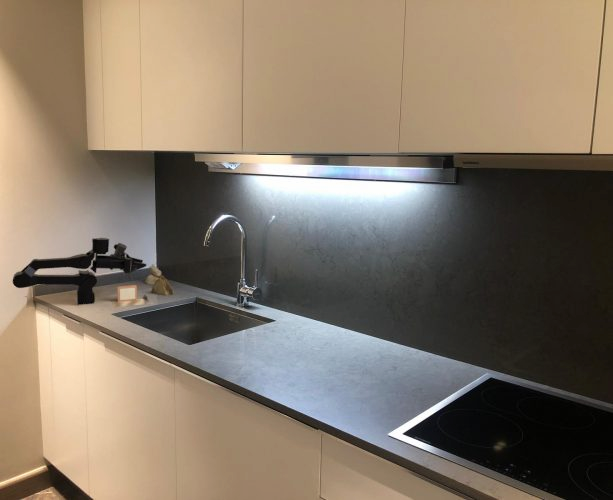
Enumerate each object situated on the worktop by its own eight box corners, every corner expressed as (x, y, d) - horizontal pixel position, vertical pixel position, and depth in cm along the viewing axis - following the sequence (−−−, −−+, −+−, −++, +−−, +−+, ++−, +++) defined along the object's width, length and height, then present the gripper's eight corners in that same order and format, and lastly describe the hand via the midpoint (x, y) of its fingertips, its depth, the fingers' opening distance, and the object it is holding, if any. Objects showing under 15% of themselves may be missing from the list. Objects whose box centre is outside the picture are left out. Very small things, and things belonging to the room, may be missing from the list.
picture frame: (118, 302, 241) (117, 287, 240) (117, 301, 242) (117, 286, 241) (137, 300, 244) (136, 285, 243) (136, 299, 245) (136, 285, 244)
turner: (145, 303, 238) (145, 301, 238) (141, 297, 249) (141, 295, 248) (152, 303, 240) (152, 300, 239) (148, 297, 250) (148, 294, 250)
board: (114, 308, 233) (114, 306, 233) (111, 302, 242) (111, 301, 242) (152, 304, 240) (152, 303, 240) (148, 299, 249) (148, 298, 248)
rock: (144, 289, 258) (152, 290, 250) (154, 273, 260) (162, 274, 252) (163, 300, 263) (171, 302, 255) (172, 285, 266) (181, 286, 258)
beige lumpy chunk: (155, 285, 276) (154, 265, 274) (143, 283, 280) (142, 264, 278) (162, 283, 281) (162, 264, 279) (151, 281, 284) (150, 262, 283)
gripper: (111, 247, 231) (149, 248, 238) (106, 240, 248) (142, 242, 255) (109, 273, 233) (147, 274, 239) (104, 264, 249) (140, 265, 256)
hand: (144, 263), depth 247 cm, fingers open, 9 cm apart
